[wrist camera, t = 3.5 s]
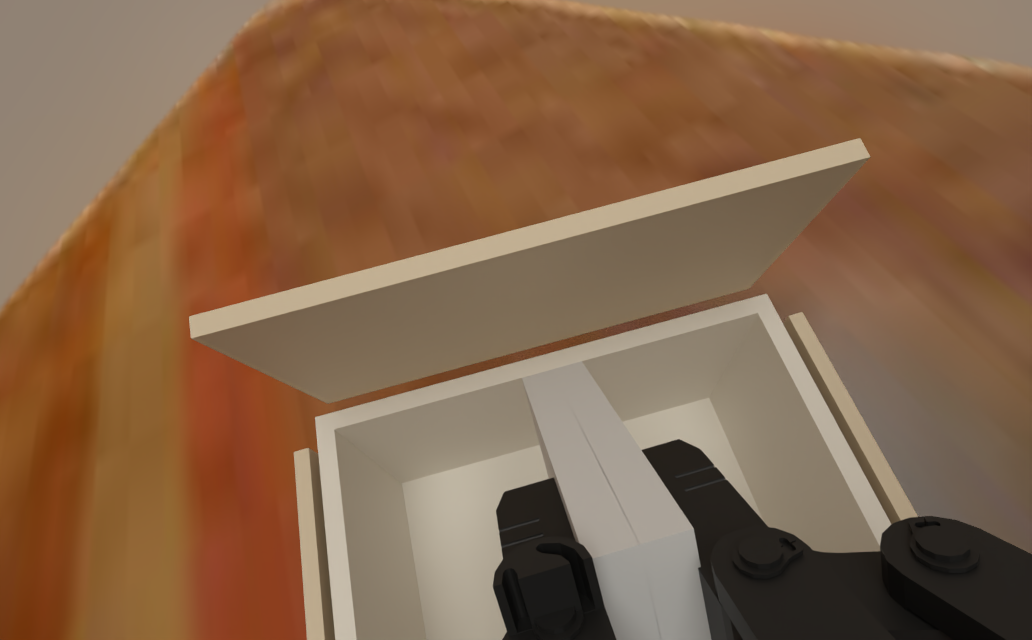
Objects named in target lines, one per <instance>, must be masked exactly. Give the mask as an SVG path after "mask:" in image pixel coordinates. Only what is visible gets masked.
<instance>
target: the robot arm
mask: <svg viewBox="0 0 1032 640" xmlns="http://www.w3.org/2000/svg"><path fill="white" fill-rule="evenodd" d="M522 381H523V384H524V388H525V392H526V396H527V399H528V403H529V407H530V410H531V414H532V418H533V422H534V425H535V429H536V433H537V437H538V440H539V444H540V448H541V451H542V455H543V459H544V463H545V466H546V470H547V474H548V477H549V479H546V480H543V481H539V482H536V483H533V484H529V485H526V486H522V487H519V488H515V489H512V490H508V491H505V492H504V493H503V495H502V498H501V500H500V502H499V505H498V507H497V509H496V515H497V522H498V529H499V535H500V542H501V547H502V556H503V560H502V561H501V563H500V565H499V566H498V568H497V569H496V571H495V574H494V581H493V589H494V593H495V596H496V599H497V602H498V605H499V608H500V611H501V614H502V617H503V620H504V624H505V627H506V630H507V632H506V634H505V636H504V638H503V639H502V640H1032V554H1030V553H1028V552H1026V551H1024V550H1022V549H1020V548H1018V547H1016V546H1014V545H1012V544H1010V543H1008V542H1006V541H1003V540H1001V539H999V538H997V537H995V536H993V535H991V534H989V533H987V532H985V531H983V530H981V529H979V528H976V527H974V526H971V525H968V524H965V523H963V522H960V521H957V520H952V519H946V518H940V517H933V516H927V517H910V518H907V519H904V520H901V521H898V522H895V523H892V524H891V525H890V526H889V527H888V528H887V529H886V530H885V531H884V532H883V533H882V536H881V543H880V551H873V552H848V553H831V552H819V551H814V550H812V549H811V548H810V547H809V546H808V545H807V544H806V543H804V542H803V541H802V540H800V539H799V538H798V537H796V536H795V535H794V534H791V533H788V532H785V531H783V530H780V529H777V528H770V527H768V526H767V525H766V524H765V522H764V521H763V520H762V519H761V518H760V517H759V516H758V514H757V513H756V512H755V511H754V510H753V509H752V508H751V506H750V505H749V504H748V503H747V502H746V501H745V500H744V498H743V497H742V496H741V495H740V494H739V493H738V491H737V490H736V489H735V488H734V487H733V486H732V485H731V483H730V482H729V481H728V480H726V479H725V477H724V475H723V474H722V473H721V472H720V471H719V470H718V469H717V467H714V464H713V463H712V462H711V461H710V459H709V458H708V457H707V456H706V455H705V454H704V452H703V451H702V450H701V449H699V448H697V447H695V446H693V445H691V444H689V443H687V442H684V441H682V440H680V439H677V440H674V441H670V442H667V443H663V444H660V445H657V446H653V447H650V448H646V449H643V450H641V449H640V447H639V446H638V444H637V443H636V441H635V440H634V438H633V437H632V435H631V434H630V432H629V431H628V429H627V428H626V426H625V425H624V424H623V422H622V421H621V419H620V418H619V416H618V415H617V413H616V412H615V410H614V409H613V407H612V406H611V404H610V403H609V401H608V400H607V398H606V397H605V395H604V394H603V392H602V391H601V389H600V388H599V386H598V385H597V383H596V382H595V380H594V379H593V377H592V376H591V374H590V373H589V371H588V370H587V368H586V367H585V365H584V364H583V362H582V361H580V362H577V363H573V364H570V365H566V366H562V367H559V368H555V369H552V370H548V371H545V372H541V373H538V374H534V375H531V376H527V377H523V378H522Z"/></svg>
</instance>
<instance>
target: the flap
mask: <svg viewBox="0 0 1032 640" xmlns="http://www.w3.org/2000/svg"><path fill="white" fill-rule="evenodd" d="M869 158H870V155H869V154H868V152H867V150H866V148H865V146H864V144H863V142H862V141H861V139H860V138H859V139H855V140H851V141H847V142H844V143H840V144H836V145H832V146H829V147H825V148H821V149H817V150H814V151H810V152H806V153H802V154H799V155H795V156H791V157H787V158H783V159H780V160H776V161H772V162H768V163H765V164H761V165H757V166H753V167H750V168H746V169H742V170H738V171H735V172H731V173H727V174H723V175H720V176H716V177H712V178H708V179H705V180H701V181H697V182H693V183H689V184H686V185H682V186H678V187H674V188H671V189H667V190H663V191H659V192H656V193H652V194H648V195H644V196H641V197H637V198H633V199H629V200H626V201H622V202H618V203H614V204H611V205H607V206H603V207H599V208H595V209H592V210H588V211H584V212H580V213H577V214H573V215H569V216H565V217H562V218H558V219H554V220H550V221H547V222H543V223H539V224H535V225H532V226H528V227H524V228H520V229H517V230H513V231H509V232H505V233H501V234H498V235H494V236H490V237H486V238H483V239H479V240H475V241H471V242H468V243H464V244H460V245H456V246H453V247H449V248H445V249H441V250H438V251H434V252H430V253H426V254H423V255H419V256H415V257H411V258H408V259H404V260H400V261H396V262H392V263H389V264H385V265H381V266H377V267H374V268H370V269H366V270H362V271H359V272H355V273H351V274H347V275H344V276H340V277H336V278H332V279H329V280H325V281H321V282H317V283H314V284H310V285H306V286H302V287H298V288H295V289H291V290H287V291H283V292H280V293H276V294H272V295H268V296H265V297H261V298H257V299H253V300H250V301H246V302H242V303H238V304H235V305H231V306H227V307H223V308H220V309H216V310H212V311H208V312H204V313H201V314H197V315H193V316H189V322H190V333H191V339H193V340H195V341H197V342H199V343H202V344H204V345H206V346H208V347H210V348H212V349H214V350H216V351H218V352H220V353H223V354H225V355H227V356H229V357H231V358H233V359H235V360H237V361H239V362H241V363H244V364H246V365H248V366H250V367H252V368H254V369H256V370H258V371H260V372H262V373H265V374H267V375H269V376H271V377H273V378H275V379H277V380H279V381H281V382H283V383H286V384H288V385H290V386H292V387H294V388H296V389H298V390H300V391H302V392H304V393H307V394H309V395H311V396H313V397H315V398H317V399H319V400H321V401H323V402H325V403H328V404H329V403H332V402H336V401H340V400H343V399H347V398H351V397H354V396H358V395H362V394H365V393H369V392H373V391H376V390H380V389H384V388H387V387H391V386H395V385H398V384H402V383H406V382H409V381H413V380H417V379H420V378H424V377H428V376H431V375H435V374H439V373H442V372H446V371H450V370H453V369H457V368H461V367H464V366H468V365H472V364H475V363H479V362H482V361H486V360H490V359H493V358H497V357H501V356H504V355H508V354H512V353H515V352H519V351H523V350H526V349H530V348H534V347H537V346H541V345H545V344H548V343H552V342H556V341H559V340H563V339H567V338H570V337H574V336H578V335H581V334H585V333H589V332H592V331H596V330H600V329H603V328H607V327H611V326H614V325H618V324H622V323H625V322H629V321H633V320H636V319H640V318H644V317H647V316H651V315H655V314H658V313H662V312H666V311H669V310H673V309H677V308H680V307H684V306H688V305H691V304H695V303H699V302H702V301H706V300H710V299H713V298H717V297H720V296H724V295H728V294H731V293H735V292H739V291H742V290H746V289H749V288H750V287H751V286H752V285H753V284H754V283H755V282H756V281H757V280H758V278H759V277H760V276H761V275H762V274H763V273H764V272H765V271H766V270H767V269H768V268H769V267H770V265H771V264H772V263H773V262H774V261H775V260H776V259H777V258H778V257H779V256H780V255H781V253H782V252H783V251H784V250H785V249H786V248H787V247H788V246H789V245H790V244H791V243H792V242H793V240H794V239H795V238H796V237H797V236H798V235H799V234H800V233H801V232H802V231H803V230H804V229H805V227H806V226H807V225H808V224H809V223H810V222H811V221H812V220H813V219H814V218H815V217H816V215H817V214H818V213H819V212H820V211H821V210H822V209H823V208H824V207H825V206H826V205H827V204H828V202H829V201H830V200H831V199H832V198H833V197H834V196H835V195H836V194H837V193H838V192H839V190H840V189H841V188H842V187H843V186H844V185H845V184H846V183H847V182H848V181H849V180H850V179H851V177H852V176H853V175H854V174H855V173H856V172H857V171H858V170H859V169H860V168H861V167H862V165H863V164H864V163H865V162H866V161H867V160H868V159H869Z"/></svg>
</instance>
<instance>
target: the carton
mask: <svg viewBox="0 0 1032 640" xmlns="http://www.w3.org/2000/svg"><path fill="white" fill-rule="evenodd" d="M580 361H582V362H583V364H584V365H585V367H586V368H587V370H588V371H589V373H590V374H591V376H592V377H593V379H594V380H595V382H596V383H597V385H598V386H599V388H600V389H601V391H602V392H603V394H604V395H605V397H606V398H607V400H608V401H609V403H610V404H611V406H612V407H613V409H614V410H615V412H616V413H617V415H618V416H619V418H620V419H621V421H622V422H623V424H624V425H625V426H626V428H627V429H628V431H629V432H630V434H631V435H632V437H633V438H634V440H635V441H636V443H637V444H638V446H639V447H640V449H641V450H643V449H646V448H650V447H653V446H657V445H660V444H663V443H667V442H670V441H674V440H677V439H680V440H682V441H684V442H687V443H689V444H691V445H693V446H695V447H697V448H699V449H701V450H702V451H703V452H704V454H705V455H706V456H707V457H708V458H709V459H710V461H711V462H712V463H713V464H714V467H717V469H718V470H719V471H720V472H721V473H722V474H723V475H724V477H725V479H726V480H728V481H729V482H730V483H731V485H732V486H733V487H734V488H735V489H736V490H737V491H738V493H739V494H740V495H741V496H742V497H743V498H744V500H745V501H746V502H747V503H748V504H749V505H750V506H751V508H752V509H753V510H754V511H755V512H756V513H757V514H758V516H759V517H760V518H761V519H762V520H763V521H764V522H765V524H766V525H767V526H768V527H770V528H777V529H780V530H783V531H785V532H788V533H791V534H794V535H795V536H796V537H798V538H799V539H800V540H802V541H803V542H804V543H806V544H807V545H808V546H809V547H810V548H811V549H812V550H814V551H819V552H831V553H848V552H873V551H880V543H881V536H882V533H883V532H884V531H885V530H886V529H887V528H888V527H889V526H890V525H891V524H892V523H895V522H898V521H901V520H904V519H907V518H910V517H918V515H917V514H916V512H915V510H914V508H913V507H912V505H911V503H910V501H909V500H908V498H907V496H906V494H905V493H904V491H903V489H902V487H901V485H900V484H899V482H898V480H897V478H896V477H895V475H894V473H893V471H892V470H891V468H890V466H889V464H888V462H887V461H886V459H885V457H884V455H883V454H882V452H881V450H880V448H879V447H878V445H877V443H876V441H875V439H874V438H873V436H872V434H871V432H870V431H869V429H868V427H867V425H866V424H865V422H864V420H863V418H862V416H861V415H860V413H859V411H858V409H857V408H856V406H855V404H854V402H853V401H852V399H851V397H850V395H849V394H848V392H847V390H846V388H845V386H844V385H843V383H842V381H841V379H840V378H839V376H838V374H837V372H836V371H835V369H834V367H833V365H832V363H831V362H830V360H829V358H828V356H827V355H826V353H825V351H824V349H823V348H822V346H821V344H820V342H819V340H818V339H817V337H816V335H815V333H814V332H813V330H812V328H811V326H810V325H809V323H808V321H807V319H806V318H805V316H804V314H803V312H801V313H797V314H793V315H790V316H788V317H787V319H786V320H785V322H784V323H782V321H781V319H780V317H779V316H778V314H777V312H776V310H775V308H774V306H773V304H772V303H771V301H770V299H769V297H768V295H767V294H764V295H760V296H757V297H753V298H749V299H746V300H742V301H738V302H735V303H731V304H727V305H724V306H720V307H716V308H713V309H709V310H705V311H702V312H698V313H694V314H691V315H687V316H684V317H680V318H676V319H673V320H669V321H665V322H662V323H658V324H654V325H651V326H647V327H643V328H640V329H636V330H632V331H629V332H625V333H621V334H618V335H614V336H610V337H607V338H603V339H599V340H596V341H592V342H589V343H585V344H581V345H578V346H574V347H570V348H567V349H563V350H559V351H556V352H552V353H548V354H545V355H541V356H537V357H534V358H530V359H526V360H523V361H519V362H515V363H512V364H508V365H504V366H501V367H497V368H494V369H490V370H486V371H483V372H479V373H475V374H472V375H468V376H464V377H461V378H457V379H453V380H450V381H446V382H442V383H439V384H435V385H431V386H428V387H424V388H420V389H417V390H413V391H410V392H406V393H402V394H399V395H395V396H391V397H388V398H384V399H380V400H377V401H373V402H369V403H366V404H362V405H358V406H355V407H351V408H347V409H344V410H340V411H336V412H333V413H329V414H325V415H322V416H318V417H315V422H316V433H317V444H318V454H317V453H316V452H314V451H313V450H311V449H310V448H307V449H303V450H300V451H296V452H294V461H295V475H296V489H297V504H298V518H299V532H300V546H301V560H302V574H303V589H304V603H305V617H306V631H307V640H502V639H503V638H504V636H505V634H506V632H507V630H506V627H505V624H504V620H503V617H502V614H501V611H500V608H499V605H498V602H497V599H496V596H495V593H494V589H493V581H494V574H495V571H496V569H497V568H498V566H499V565H500V563H501V561H502V560H503V556H502V547H501V542H500V535H499V529H498V522H497V515H496V509H497V507H498V505H499V502H500V500H501V498H502V495H503V493H504V492H505V491H508V490H512V489H515V488H519V487H522V486H526V485H529V484H533V483H536V482H539V481H543V480H546V479H549V477H548V474H547V470H546V466H545V463H544V459H543V455H542V451H541V448H540V444H539V440H538V437H537V433H536V429H535V425H534V422H533V418H532V414H531V410H530V407H529V403H528V399H527V396H526V392H525V388H524V384H523V381H522V378H523V377H527V376H531V375H534V374H538V373H541V372H545V371H548V370H552V369H555V368H559V367H562V366H566V365H570V364H573V363H577V362H580Z"/></svg>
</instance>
